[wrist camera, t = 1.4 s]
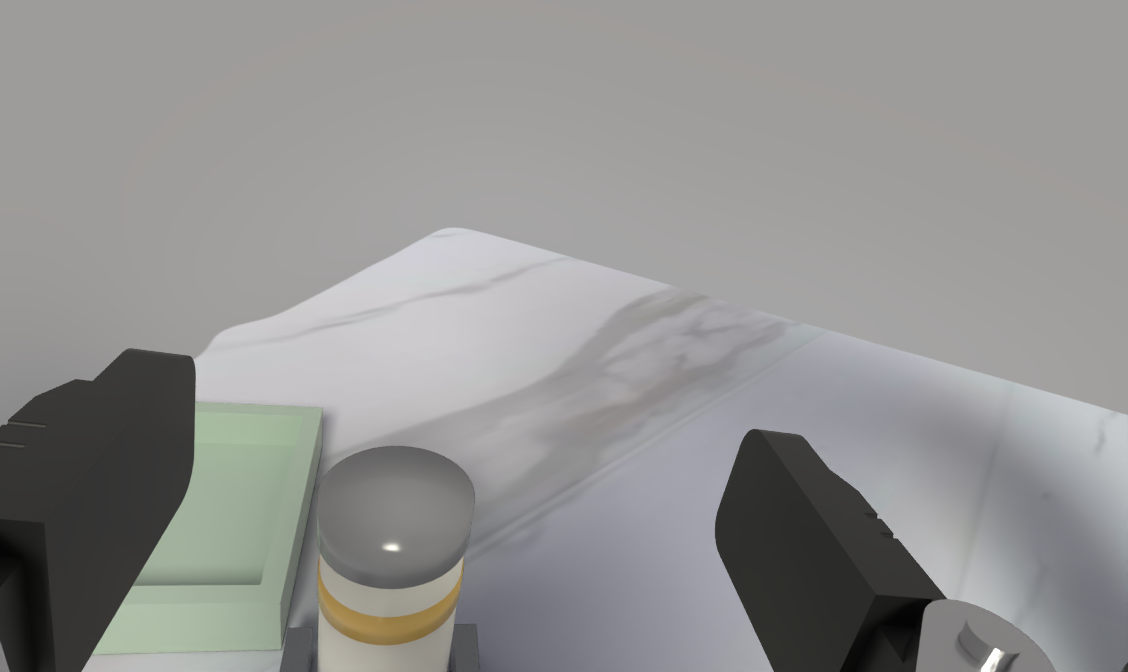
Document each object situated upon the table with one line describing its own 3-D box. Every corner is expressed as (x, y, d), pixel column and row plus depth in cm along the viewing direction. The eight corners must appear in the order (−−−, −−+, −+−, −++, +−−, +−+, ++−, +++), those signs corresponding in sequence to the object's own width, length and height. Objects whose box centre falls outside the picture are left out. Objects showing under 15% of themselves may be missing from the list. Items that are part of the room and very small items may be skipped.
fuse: (435, 705, 32) (470, 448, 25) (437, 821, 27) (479, 549, 21) (321, 710, 30) (327, 443, 24) (304, 832, 26) (306, 548, 20)
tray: (321, 447, 46) (322, 407, 44) (280, 649, 33) (280, 602, 31) (129, 440, 43) (124, 398, 42) (2, 656, 30) (-12, 606, 29)
